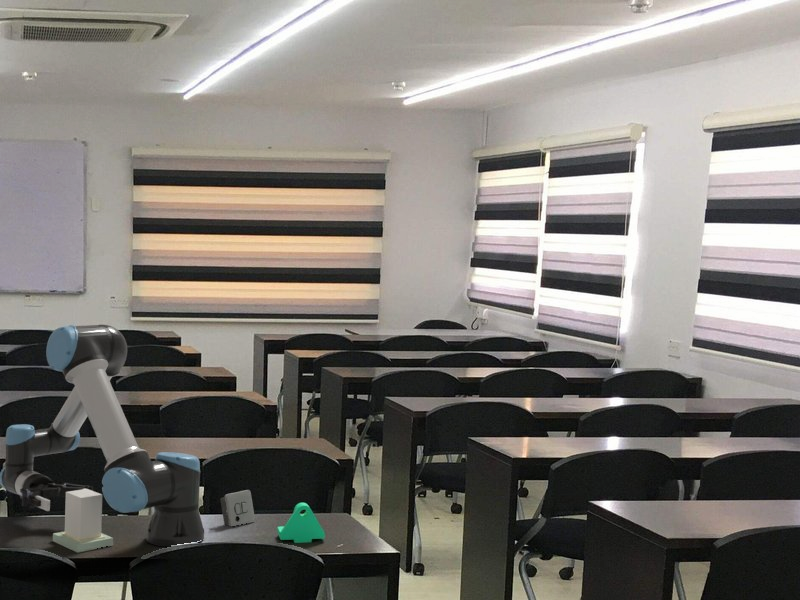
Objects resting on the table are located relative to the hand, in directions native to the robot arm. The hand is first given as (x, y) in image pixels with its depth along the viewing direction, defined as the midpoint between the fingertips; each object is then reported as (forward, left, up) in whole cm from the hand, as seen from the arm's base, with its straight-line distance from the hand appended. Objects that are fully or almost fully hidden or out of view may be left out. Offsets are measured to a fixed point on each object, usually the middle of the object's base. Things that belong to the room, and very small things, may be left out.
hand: (72, 501), depth 264 cm
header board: (-5, +2, -10) cm, 11 cm away
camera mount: (-51, -32, -10) cm, 61 cm away
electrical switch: (-28, -36, -10) cm, 47 cm away
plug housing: (-5, +2, -8) cm, 9 cm away
